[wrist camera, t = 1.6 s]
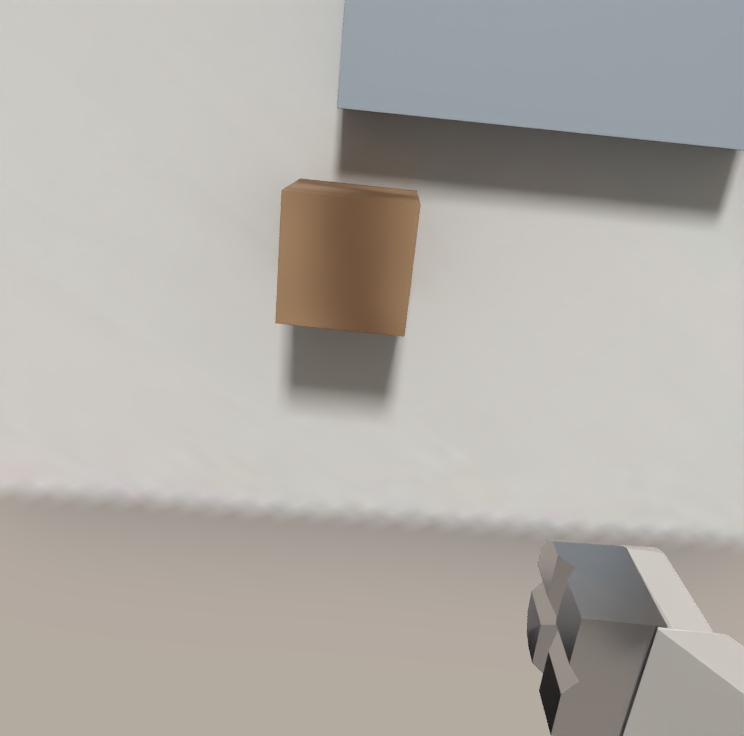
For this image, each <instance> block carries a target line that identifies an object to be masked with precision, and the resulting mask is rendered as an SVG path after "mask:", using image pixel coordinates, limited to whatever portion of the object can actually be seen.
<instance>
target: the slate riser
mask: <svg viewBox="0 0 744 736" xmlns="http://www.w3.org/2000/svg"><path fill="white" fill-rule="evenodd" d="M337 108H341V109H350V110H359V111H369V112H378V113H388V114H398V115H407V116H417V117H427V118H436V119H446V120H456V121H465V122H475V123H484V124H494V125H504V126H513V127H523V128H533V129H542V130H552V131H561V132H571V133H581V134H590V135H600V136H610V137H619V138H629V139H638V140H648V141H658V142H667V143H677V144H687V145H696V146H706V147H715V148H725V149H735V150H744V0H345V7H344V21H343V35H342V49H341V63H340V77H339V90H338V104H337Z"/></svg>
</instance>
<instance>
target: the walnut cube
mask: <svg viewBox="0 0 744 736" xmlns="http://www.w3.org/2000/svg"><path fill="white" fill-rule="evenodd" d="M419 212H420V201H419V198H418V195H417V191H414V190H404V189H394V188H385V187H375V186H366V185H356V184H347V183H337V182H328V181H318V180H308V179H299V180H298V181H296V182H294V183H293V184H291V185H289V186H288V187H286V188H284V189H283V190H282V195H281V216H280V237H279V259H278V280H277V302H276V323H279V324H289V325H298V326H308V327H317V328H327V329H337V330H346V331H356V332H365V333H375V334H385V335H394V336H404V335H405V327H406V319H407V311H408V302H409V294H410V286H411V278H412V270H413V261H414V253H415V245H416V237H417V229H418V220H419Z"/></svg>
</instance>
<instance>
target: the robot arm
mask: <svg viewBox="0 0 744 736" xmlns="http://www.w3.org/2000/svg"><path fill="white" fill-rule="evenodd" d="M538 567H539V570H540V574H541V577H542V580H543V582H542V583H541V584H540V585H538V586H537V587H536V588H535V589H534V590H532V592H531V597H530V602H529V608H528V616H527V617H528V618H527V637H528V646H529V651H530V655H531V659H532V663H533V664H534V665H535V666H536V667H537V668H538V669H539V670H540V671H541V672H542V673H543V676H542V681H541V685H540V689H539V692H540V696H541V700H542V704H543V707H544V711H545V715H546V719H547V723H548V726H549V730H550V734H551V735H552V736H744V646H743V645H741V644H739V643H738V642H737V641H735V640H734V639H732V638H731V637H729V636H728V635H726V634H717V633H714V632H713V631H712V629H711V628H710V626H709V624H708V623H707V621H706V620H705V618H704V616H703V615H702V613H701V612H700V610H699V608H698V607H697V605H696V604H695V602H694V600H693V599H692V597H691V596H690V594H689V592H688V591H687V589H686V588H685V586H684V584H683V583H682V581H681V580H680V578H679V576H678V575H677V573H676V572H675V570H674V569H673V567H672V565H671V564H670V563H669V561H668V559H667V558H666V556H665V554H664V553H663V552H662V551H660V550H659V549H657V548H653V547H638V546H623V545H619V546H615V545H603V544H591V543H579V542H567V541H555V540H546V541H545V543H544V545H543V547H542V549H541V553H540V557H539V561H538Z"/></svg>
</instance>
